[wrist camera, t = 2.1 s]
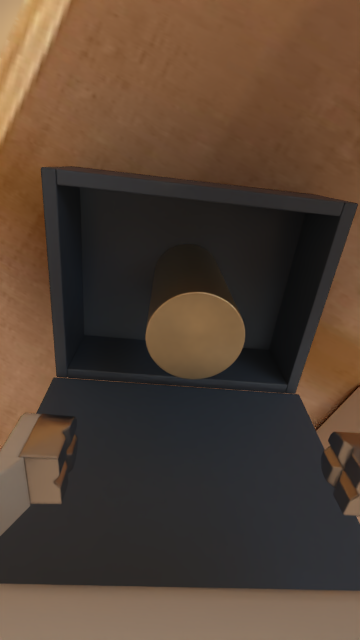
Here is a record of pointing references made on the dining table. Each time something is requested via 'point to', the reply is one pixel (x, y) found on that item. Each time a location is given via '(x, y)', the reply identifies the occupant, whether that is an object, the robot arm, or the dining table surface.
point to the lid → (186, 495)
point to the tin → (192, 316)
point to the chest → (176, 229)
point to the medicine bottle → (342, 419)
